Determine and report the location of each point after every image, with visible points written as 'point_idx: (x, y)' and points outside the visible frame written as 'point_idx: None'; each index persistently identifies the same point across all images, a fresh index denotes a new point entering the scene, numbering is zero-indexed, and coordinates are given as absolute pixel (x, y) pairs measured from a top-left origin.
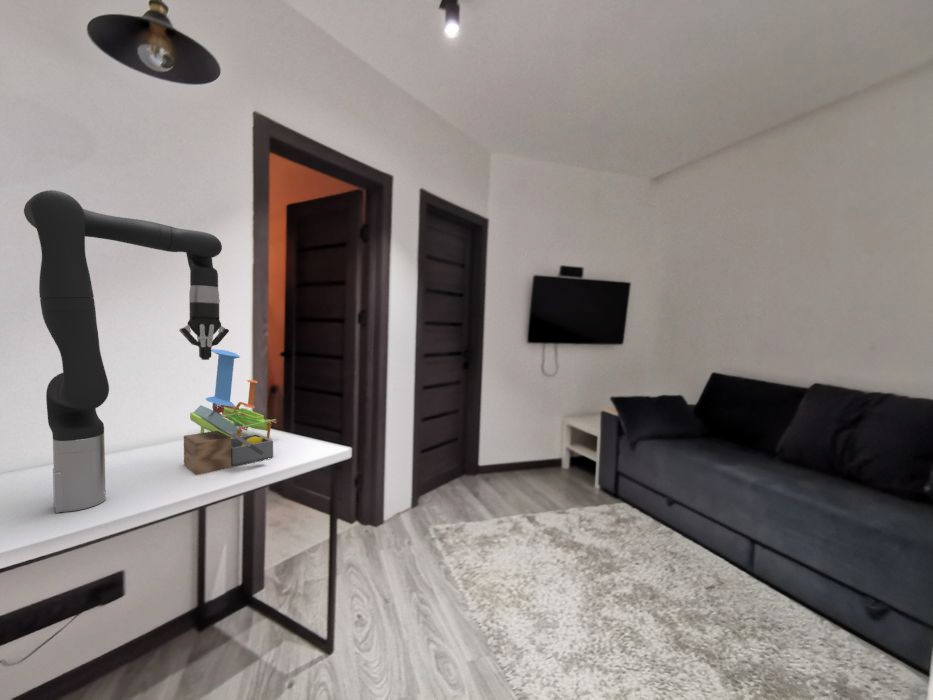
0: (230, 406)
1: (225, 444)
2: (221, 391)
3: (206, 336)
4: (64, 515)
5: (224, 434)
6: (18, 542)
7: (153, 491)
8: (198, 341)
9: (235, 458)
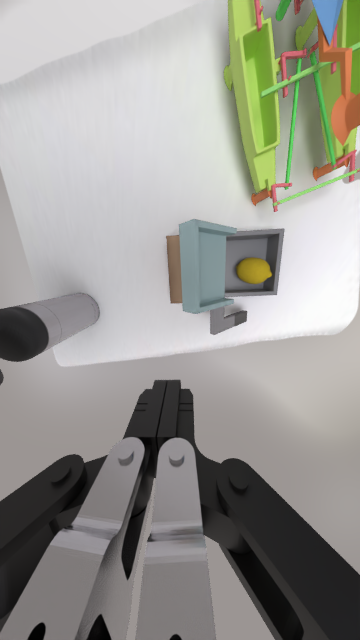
0: (323, 22)
1: None
2: None
3: (157, 618)
4: None
5: None
6: (60, 359)
7: (134, 318)
8: (91, 506)
9: None
